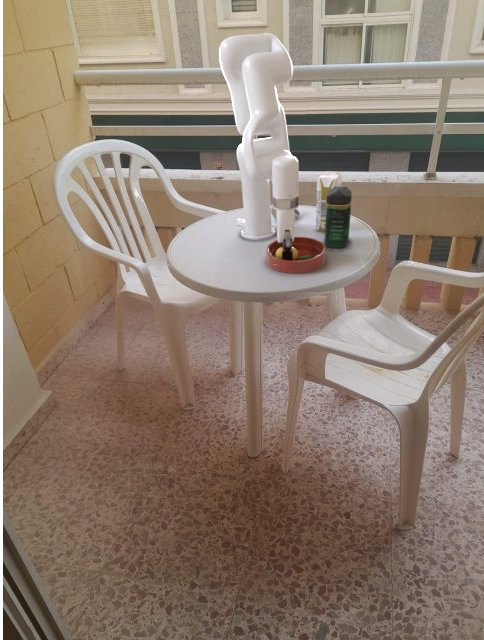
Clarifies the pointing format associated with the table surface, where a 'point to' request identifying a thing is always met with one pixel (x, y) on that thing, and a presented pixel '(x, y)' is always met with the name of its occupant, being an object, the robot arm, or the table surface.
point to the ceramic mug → (276, 210)
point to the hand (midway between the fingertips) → (286, 257)
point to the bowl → (303, 248)
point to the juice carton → (323, 186)
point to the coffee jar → (337, 217)
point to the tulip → (295, 254)
